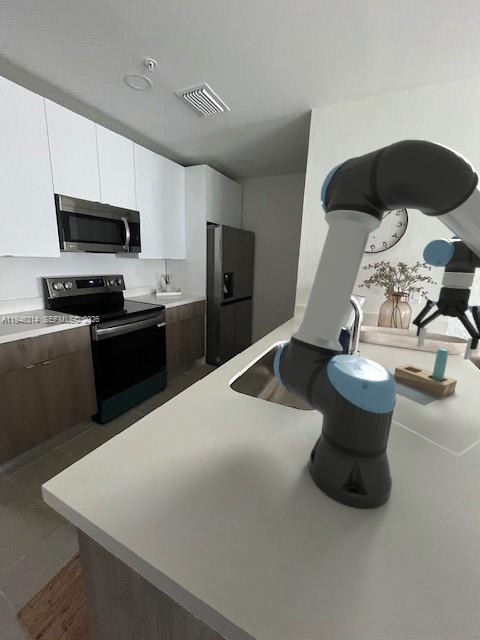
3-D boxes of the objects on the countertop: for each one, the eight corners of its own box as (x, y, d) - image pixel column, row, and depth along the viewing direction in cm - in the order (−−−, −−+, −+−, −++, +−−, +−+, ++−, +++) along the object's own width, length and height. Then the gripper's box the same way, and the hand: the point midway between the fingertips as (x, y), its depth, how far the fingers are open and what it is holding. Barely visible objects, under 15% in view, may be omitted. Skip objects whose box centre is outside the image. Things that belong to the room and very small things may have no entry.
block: (442, 397, 87) (445, 385, 86) (393, 377, 100) (395, 367, 99) (454, 391, 91) (456, 380, 90) (405, 373, 104) (407, 364, 103)
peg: (438, 391, 90) (446, 351, 87) (428, 388, 93) (435, 349, 90) (442, 390, 92) (450, 350, 89) (432, 386, 94) (440, 347, 91)
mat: (424, 406, 81) (424, 405, 81) (369, 382, 97) (370, 381, 96) (455, 392, 91) (455, 391, 91) (402, 372, 106) (402, 371, 106)
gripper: (514, 291, 76) (495, 363, 80) (419, 283, 97) (409, 340, 101) (504, 292, 72) (485, 367, 77) (408, 283, 93) (397, 342, 98)
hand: (442, 352), depth 89 cm, fingers open, 13 cm apart
